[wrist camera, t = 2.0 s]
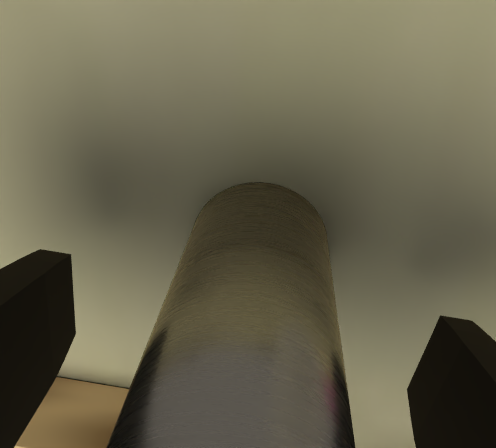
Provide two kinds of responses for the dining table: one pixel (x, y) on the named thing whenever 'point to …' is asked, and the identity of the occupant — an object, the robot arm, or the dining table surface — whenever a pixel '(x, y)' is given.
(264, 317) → the cylindrical peg
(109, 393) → the square wooden frame
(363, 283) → the dining table surface
